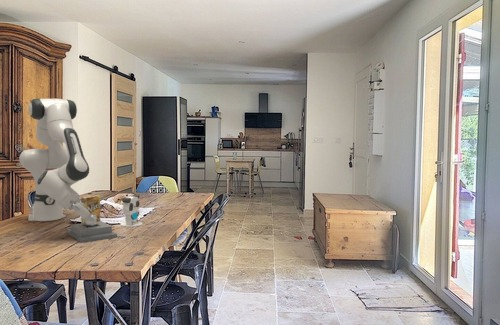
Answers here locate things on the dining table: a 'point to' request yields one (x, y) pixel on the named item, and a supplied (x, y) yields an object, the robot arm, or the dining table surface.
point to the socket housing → (91, 232)
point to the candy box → (91, 206)
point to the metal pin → (89, 223)
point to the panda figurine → (131, 211)
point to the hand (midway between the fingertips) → (92, 219)
